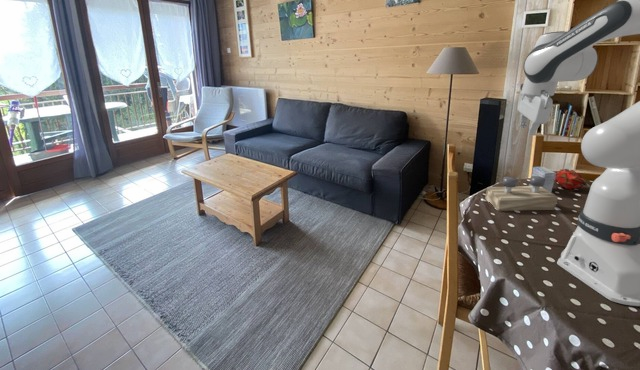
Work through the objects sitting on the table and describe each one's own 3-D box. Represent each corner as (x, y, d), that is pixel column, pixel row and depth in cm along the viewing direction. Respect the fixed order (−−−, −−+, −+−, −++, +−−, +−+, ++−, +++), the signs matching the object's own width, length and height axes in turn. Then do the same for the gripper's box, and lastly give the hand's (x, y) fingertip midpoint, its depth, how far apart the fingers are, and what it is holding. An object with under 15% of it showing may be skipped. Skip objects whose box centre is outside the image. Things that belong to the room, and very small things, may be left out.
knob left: (515, 199, 116) (519, 180, 113) (503, 199, 116) (507, 181, 113) (509, 194, 120) (513, 176, 117) (497, 194, 120) (501, 176, 117)
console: (554, 209, 114) (558, 196, 112) (498, 210, 115) (500, 197, 113) (537, 197, 124) (540, 185, 122) (485, 198, 124) (487, 187, 122)
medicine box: (551, 193, 127) (556, 172, 124) (539, 193, 127) (545, 173, 124) (539, 185, 134) (544, 166, 131) (528, 186, 135) (533, 166, 131)
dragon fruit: (550, 185, 138) (579, 199, 129) (544, 178, 133) (574, 192, 124) (564, 169, 137) (594, 182, 127) (559, 161, 132) (590, 174, 122)
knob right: (543, 198, 116) (548, 180, 113) (531, 199, 116) (535, 180, 113) (535, 193, 120) (540, 175, 117) (524, 194, 120) (528, 176, 117)
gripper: (563, 94, 92) (548, 140, 98) (539, 84, 109) (528, 124, 115) (538, 93, 93) (525, 138, 99) (519, 83, 111) (508, 122, 117)
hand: (526, 130), depth 107 cm, fingers open, 8 cm apart
